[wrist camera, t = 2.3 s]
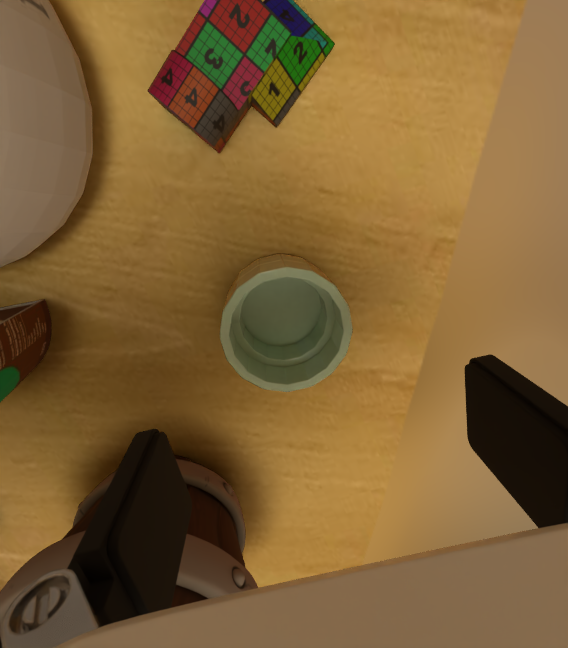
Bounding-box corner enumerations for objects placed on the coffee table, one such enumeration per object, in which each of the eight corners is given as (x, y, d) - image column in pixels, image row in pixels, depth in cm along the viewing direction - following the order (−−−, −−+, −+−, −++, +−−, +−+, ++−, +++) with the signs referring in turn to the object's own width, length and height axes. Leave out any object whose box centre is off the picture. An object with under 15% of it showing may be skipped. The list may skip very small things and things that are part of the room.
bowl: (242, 364, 25) (239, 403, 20) (214, 267, 23) (203, 285, 18) (340, 342, 25) (360, 375, 20) (322, 242, 23) (341, 254, 18)
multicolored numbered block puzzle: (244, 173, 21) (241, 168, 17) (162, 106, 20) (136, 81, 15) (333, 47, 19) (355, 4, 15) (251, -38, 18) (249, -111, 14)
